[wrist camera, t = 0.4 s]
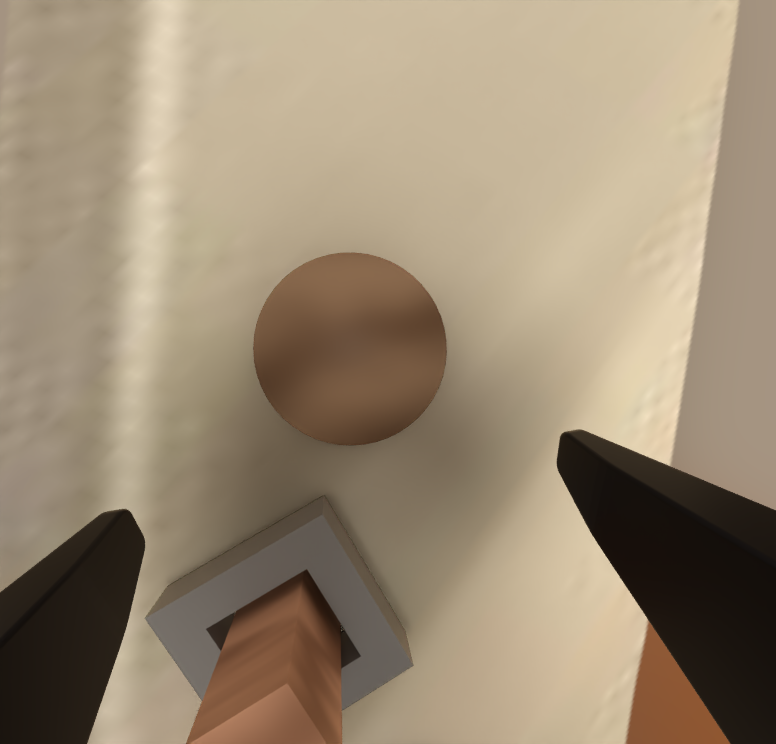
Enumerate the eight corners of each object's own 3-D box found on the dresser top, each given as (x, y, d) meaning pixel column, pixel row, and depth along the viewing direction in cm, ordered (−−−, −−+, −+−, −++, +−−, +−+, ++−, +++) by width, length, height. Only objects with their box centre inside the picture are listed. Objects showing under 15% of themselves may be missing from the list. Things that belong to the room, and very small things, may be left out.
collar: (405, 630, 23) (413, 665, 20) (259, 721, 22) (249, 769, 20) (324, 495, 22) (322, 514, 19) (167, 586, 21) (144, 618, 19)
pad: (472, 384, 22) (478, 386, 21) (316, 473, 22) (315, 480, 21) (388, 224, 21) (390, 218, 20) (220, 312, 20) (215, 310, 19)
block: (340, 618, 22) (342, 767, 15) (277, 656, 22) (244, 830, 14) (305, 561, 22) (287, 683, 14) (240, 599, 22) (184, 746, 14)
